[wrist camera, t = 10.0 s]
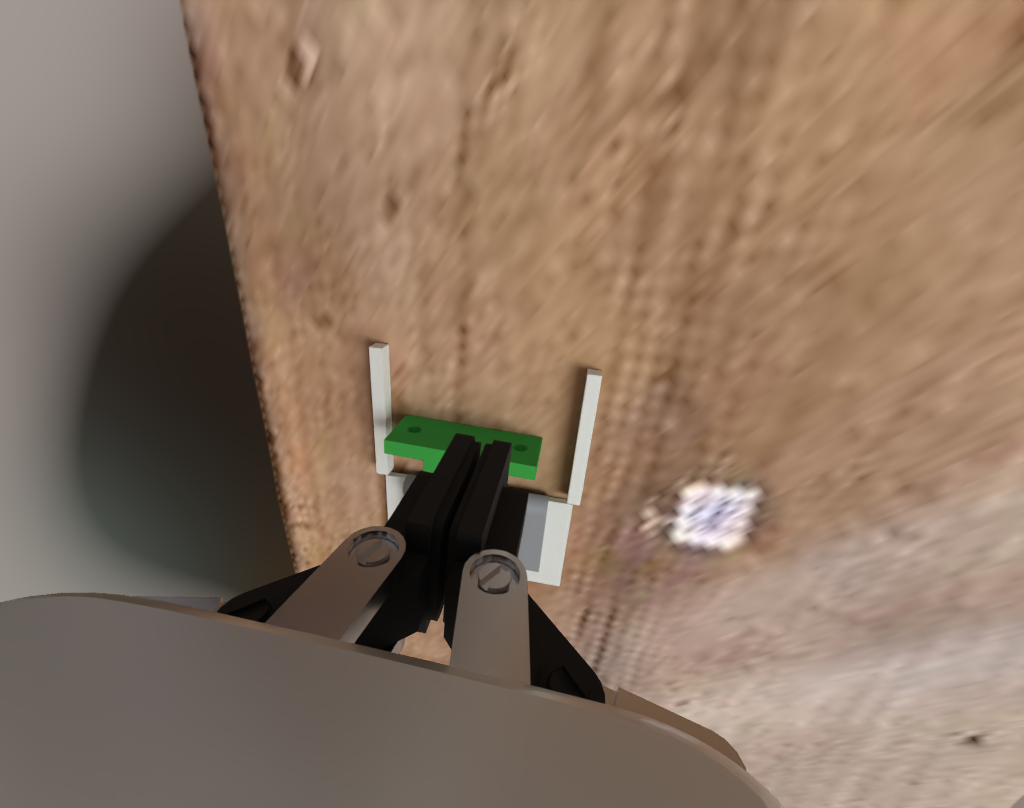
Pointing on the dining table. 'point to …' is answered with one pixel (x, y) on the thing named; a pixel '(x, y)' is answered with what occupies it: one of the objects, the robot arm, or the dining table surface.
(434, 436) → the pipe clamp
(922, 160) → the dining table surface
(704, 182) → the dining table surface
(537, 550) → the hinge base
